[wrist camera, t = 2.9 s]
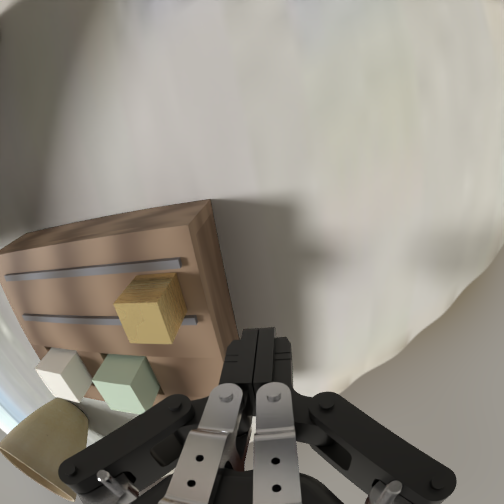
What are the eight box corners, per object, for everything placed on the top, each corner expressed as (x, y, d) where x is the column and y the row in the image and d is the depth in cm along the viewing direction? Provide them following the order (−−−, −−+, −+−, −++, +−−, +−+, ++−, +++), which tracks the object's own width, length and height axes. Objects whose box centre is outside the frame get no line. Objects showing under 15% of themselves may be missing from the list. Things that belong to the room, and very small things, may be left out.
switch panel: (210, 199, 23) (186, 227, 17) (246, 369, 30) (238, 417, 25) (25, 233, 26) (-13, 258, 21) (82, 360, 34) (60, 393, 28)
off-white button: (84, 341, 26) (60, 374, 22) (99, 370, 28) (79, 402, 23) (58, 339, 27) (34, 368, 22) (74, 366, 28) (53, 396, 24)
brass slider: (176, 272, 19) (156, 302, 16) (187, 311, 20) (172, 344, 17) (136, 275, 20) (113, 303, 16) (149, 312, 21) (130, 343, 18)
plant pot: (50, 371, 36) (1, 444, 22) (120, 429, 40) (88, 505, 26) (30, 392, 41) (-8, 449, 27) (88, 439, 45) (59, 498, 31)
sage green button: (150, 345, 25) (130, 385, 20) (164, 376, 27) (148, 415, 22) (114, 343, 26) (91, 380, 21) (130, 373, 27) (111, 409, 23)
